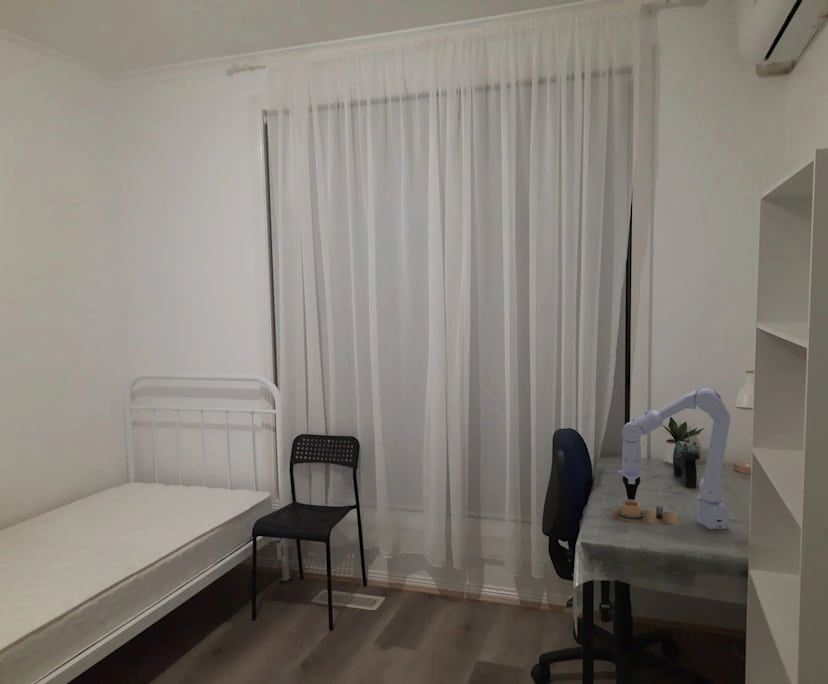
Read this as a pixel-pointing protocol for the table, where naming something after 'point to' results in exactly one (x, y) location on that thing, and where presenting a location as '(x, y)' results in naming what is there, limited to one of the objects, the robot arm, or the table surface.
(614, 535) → the table surface
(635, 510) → the collar
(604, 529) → the table surface
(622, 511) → the hub
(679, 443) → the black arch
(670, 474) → the table surface
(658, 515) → the stand rod
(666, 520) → the walnut board
